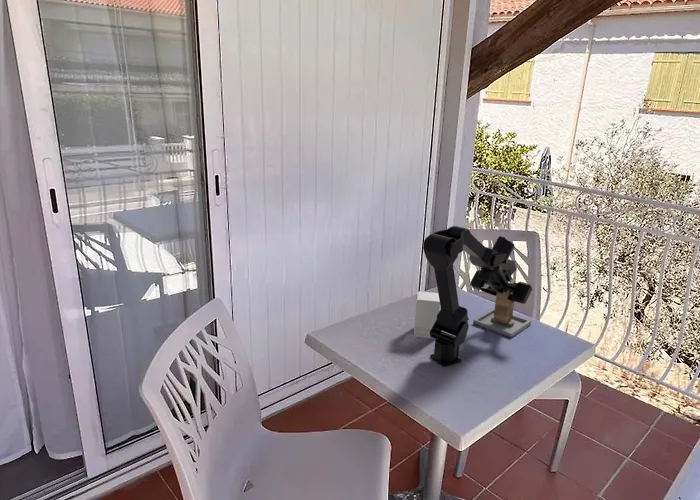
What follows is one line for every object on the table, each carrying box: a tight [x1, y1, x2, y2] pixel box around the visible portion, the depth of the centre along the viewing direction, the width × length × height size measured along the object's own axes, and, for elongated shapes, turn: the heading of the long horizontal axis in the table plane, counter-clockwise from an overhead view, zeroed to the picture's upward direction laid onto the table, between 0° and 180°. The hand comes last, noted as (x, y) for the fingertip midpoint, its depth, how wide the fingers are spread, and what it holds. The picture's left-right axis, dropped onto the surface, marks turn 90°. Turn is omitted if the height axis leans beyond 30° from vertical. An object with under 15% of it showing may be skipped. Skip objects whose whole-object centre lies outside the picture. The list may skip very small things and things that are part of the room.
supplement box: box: [413, 291, 441, 339], centre depth 153 cm, size 7×7×13 cm
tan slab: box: [491, 286, 515, 327], centre depth 160 cm, size 4×7×13 cm, turn 46°
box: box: [472, 307, 532, 339], centre depth 162 cm, size 14×14×2 cm
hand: (507, 298), depth 160 cm, fingers open, 5 cm apart
